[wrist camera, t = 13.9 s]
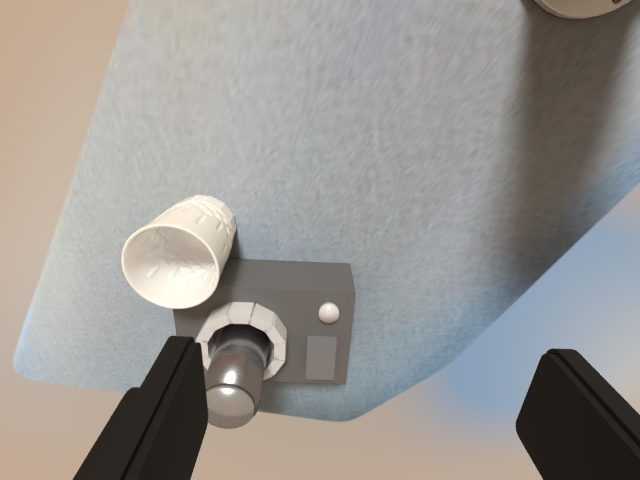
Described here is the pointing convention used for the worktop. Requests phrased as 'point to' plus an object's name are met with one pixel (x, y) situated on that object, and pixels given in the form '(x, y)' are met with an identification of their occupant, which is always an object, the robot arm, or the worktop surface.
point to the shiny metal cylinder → (236, 375)
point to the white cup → (180, 253)
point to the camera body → (281, 316)
